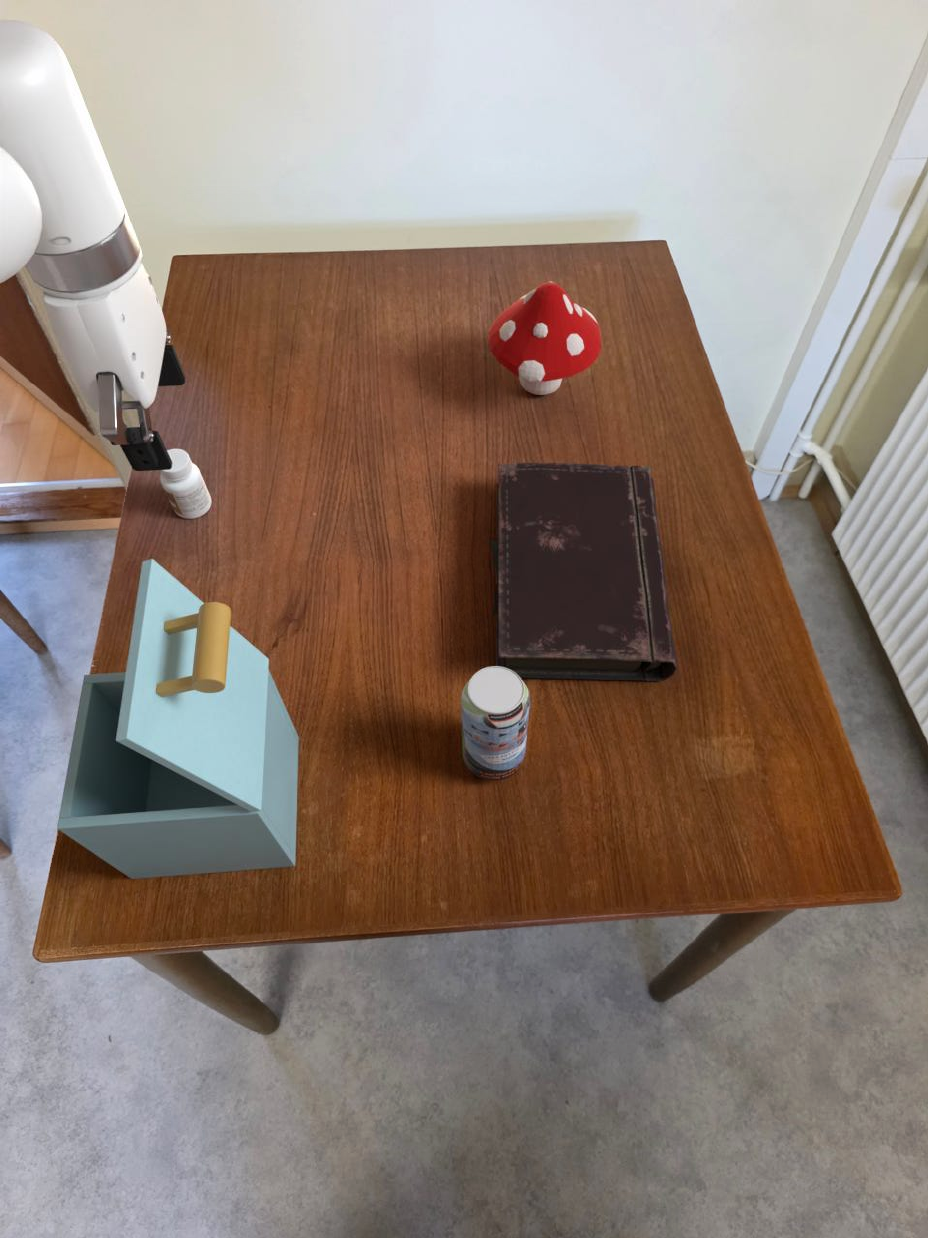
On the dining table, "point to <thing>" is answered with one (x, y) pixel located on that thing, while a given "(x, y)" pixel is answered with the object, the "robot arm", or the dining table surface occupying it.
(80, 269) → the robot arm
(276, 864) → the chest
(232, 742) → the lid
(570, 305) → the decorative mushroom
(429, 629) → the dining table surface
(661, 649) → the diary
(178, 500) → the pill bottle
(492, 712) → the beverage can
